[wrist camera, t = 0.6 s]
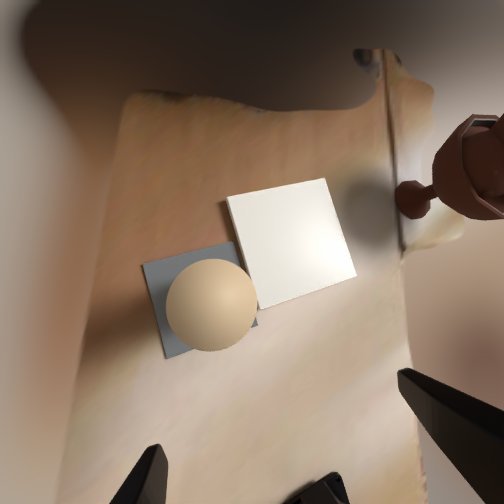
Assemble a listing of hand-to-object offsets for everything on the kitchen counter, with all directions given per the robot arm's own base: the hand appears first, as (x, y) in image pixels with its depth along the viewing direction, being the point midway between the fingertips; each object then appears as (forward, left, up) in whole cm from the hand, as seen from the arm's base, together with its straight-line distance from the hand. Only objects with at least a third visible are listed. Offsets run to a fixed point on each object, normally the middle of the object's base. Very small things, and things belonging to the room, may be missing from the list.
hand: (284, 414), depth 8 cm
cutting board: (+7, -10, -15) cm, 20 cm away
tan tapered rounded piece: (+4, +1, -15) cm, 16 cm away
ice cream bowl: (+8, -29, -15) cm, 34 cm away
